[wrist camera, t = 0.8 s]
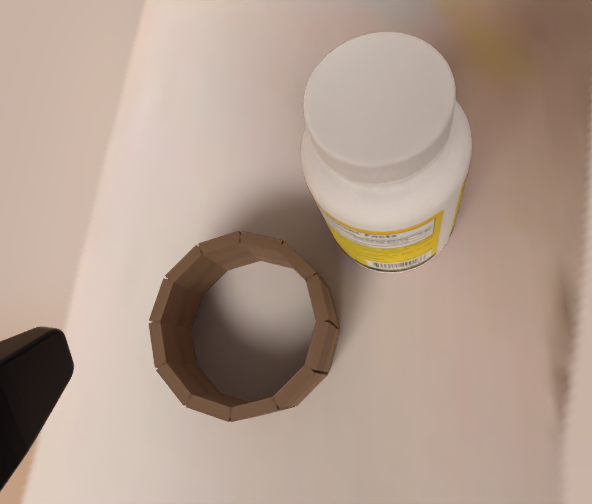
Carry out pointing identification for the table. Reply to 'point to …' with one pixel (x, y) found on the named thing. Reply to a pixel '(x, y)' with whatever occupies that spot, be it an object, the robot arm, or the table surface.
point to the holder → (183, 307)
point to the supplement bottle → (386, 149)
